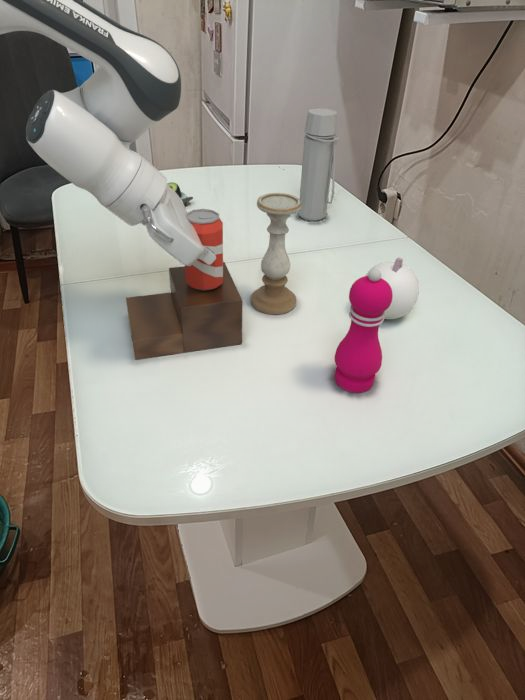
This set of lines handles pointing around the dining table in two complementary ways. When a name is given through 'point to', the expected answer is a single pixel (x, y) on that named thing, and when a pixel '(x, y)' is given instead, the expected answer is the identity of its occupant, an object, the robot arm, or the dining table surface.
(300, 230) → the dining table surface
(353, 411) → the dining table surface
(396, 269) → the ornament
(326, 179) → the water bottle
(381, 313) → the pepper mill
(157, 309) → the step shelf
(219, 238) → the beverage can
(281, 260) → the candle holder
